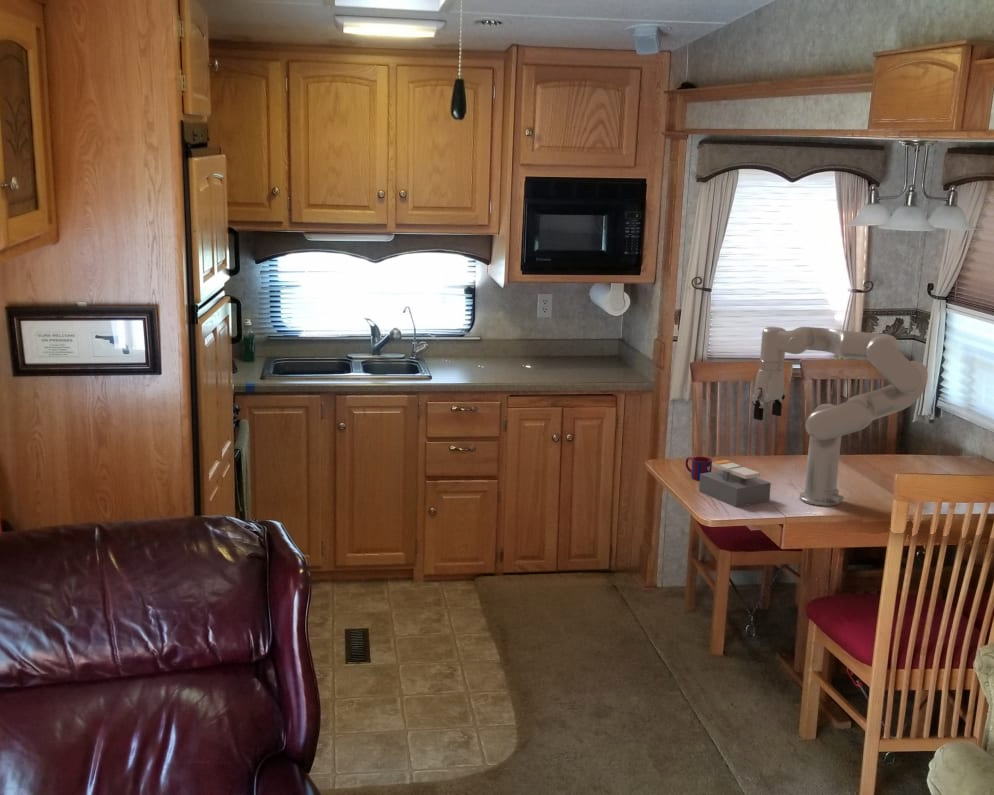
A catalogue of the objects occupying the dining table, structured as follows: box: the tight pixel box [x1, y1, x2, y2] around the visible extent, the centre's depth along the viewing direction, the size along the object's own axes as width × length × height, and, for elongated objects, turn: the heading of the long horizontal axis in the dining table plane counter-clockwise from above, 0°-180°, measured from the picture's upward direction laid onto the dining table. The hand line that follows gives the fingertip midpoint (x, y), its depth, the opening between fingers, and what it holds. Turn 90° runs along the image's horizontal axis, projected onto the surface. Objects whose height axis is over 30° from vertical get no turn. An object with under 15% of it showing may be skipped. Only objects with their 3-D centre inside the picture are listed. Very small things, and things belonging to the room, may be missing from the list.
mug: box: [685, 456, 713, 482], centre depth 353 cm, size 7×10×7 cm
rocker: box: [712, 459, 761, 479], centre depth 332 cm, size 16×6×2 cm, turn 29°
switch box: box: [698, 469, 772, 508], centre depth 333 cm, size 18×14×9 cm
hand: (767, 417), depth 333 cm, fingers open, 9 cm apart
